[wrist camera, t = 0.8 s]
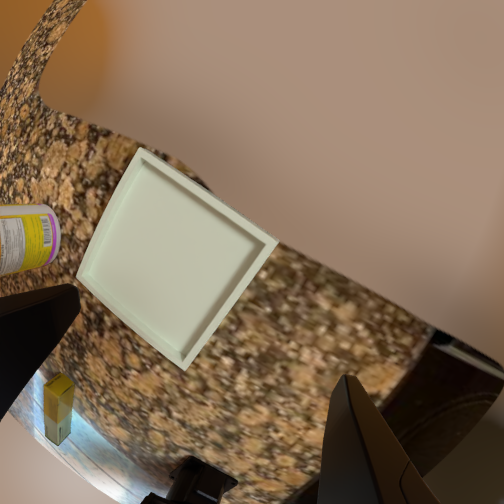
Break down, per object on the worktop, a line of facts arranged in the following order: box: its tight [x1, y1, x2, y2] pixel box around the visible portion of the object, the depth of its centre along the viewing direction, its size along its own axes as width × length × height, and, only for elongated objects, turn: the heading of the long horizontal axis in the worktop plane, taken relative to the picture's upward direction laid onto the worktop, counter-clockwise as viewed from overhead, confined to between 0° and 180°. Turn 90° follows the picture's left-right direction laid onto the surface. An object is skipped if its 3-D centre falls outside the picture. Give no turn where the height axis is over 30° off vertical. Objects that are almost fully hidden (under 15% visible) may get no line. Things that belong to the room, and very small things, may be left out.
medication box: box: [44, 372, 75, 446], centre depth 27 cm, size 12×3×4 cm, turn 155°
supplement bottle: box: [0, 204, 61, 277], centre depth 19 cm, size 7×7×13 cm
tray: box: [76, 147, 280, 371], centre depth 23 cm, size 13×13×2 cm
